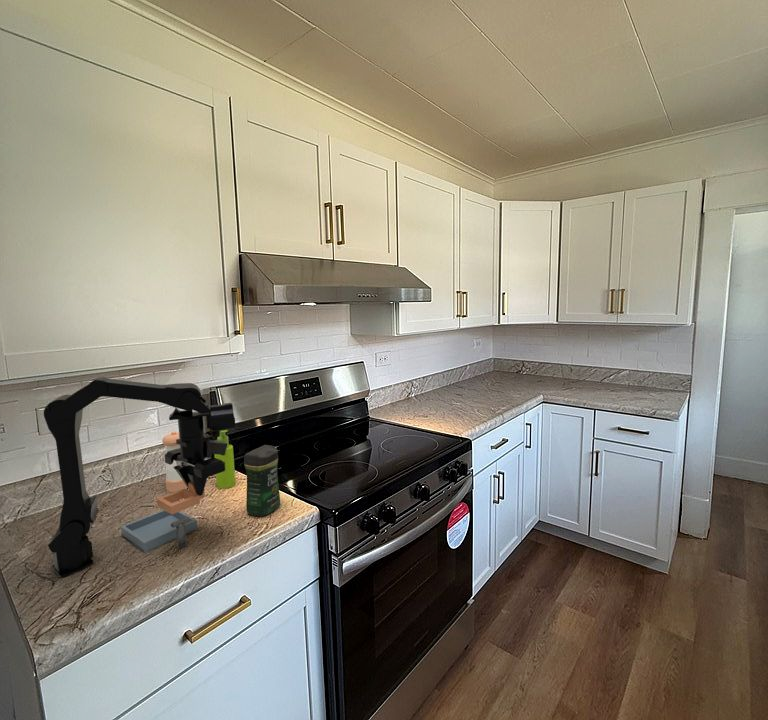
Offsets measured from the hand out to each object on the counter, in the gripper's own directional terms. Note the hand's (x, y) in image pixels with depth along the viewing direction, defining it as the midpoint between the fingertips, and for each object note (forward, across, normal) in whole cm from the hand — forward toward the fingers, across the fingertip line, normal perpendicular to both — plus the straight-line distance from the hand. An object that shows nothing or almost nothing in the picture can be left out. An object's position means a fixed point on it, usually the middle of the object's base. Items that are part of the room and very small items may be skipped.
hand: (196, 493), depth 107 cm
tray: (+12, +12, +5) cm, 17 cm away
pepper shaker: (+12, +35, -12) cm, 39 cm away
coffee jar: (+12, -1, -19) cm, 23 cm away
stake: (+12, 0, +5) cm, 13 cm away
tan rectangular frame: (+1, 0, +3) cm, 4 cm away
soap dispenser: (+12, +23, -22) cm, 34 cm away
